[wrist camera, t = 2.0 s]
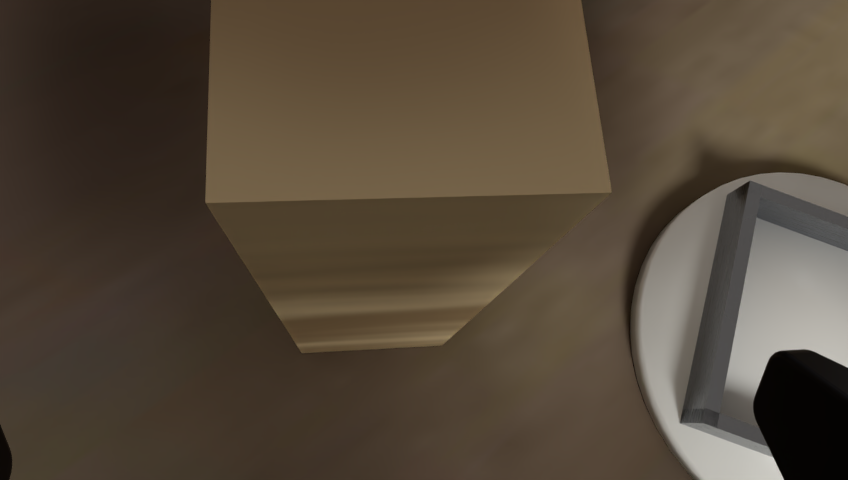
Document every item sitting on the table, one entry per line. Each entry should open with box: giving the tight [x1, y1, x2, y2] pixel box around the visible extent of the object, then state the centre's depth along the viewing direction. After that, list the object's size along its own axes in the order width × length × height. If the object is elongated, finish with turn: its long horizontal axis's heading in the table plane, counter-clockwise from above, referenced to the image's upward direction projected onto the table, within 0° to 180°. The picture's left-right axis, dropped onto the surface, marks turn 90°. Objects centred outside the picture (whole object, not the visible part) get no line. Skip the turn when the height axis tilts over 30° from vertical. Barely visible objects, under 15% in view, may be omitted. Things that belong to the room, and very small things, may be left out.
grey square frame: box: [680, 181, 848, 457], centre depth 18 cm, size 7×7×1 cm
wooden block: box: [205, 0, 612, 353], centre depth 13 cm, size 4×4×12 cm
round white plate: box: [630, 172, 848, 480], centre depth 19 cm, size 11×11×1 cm
